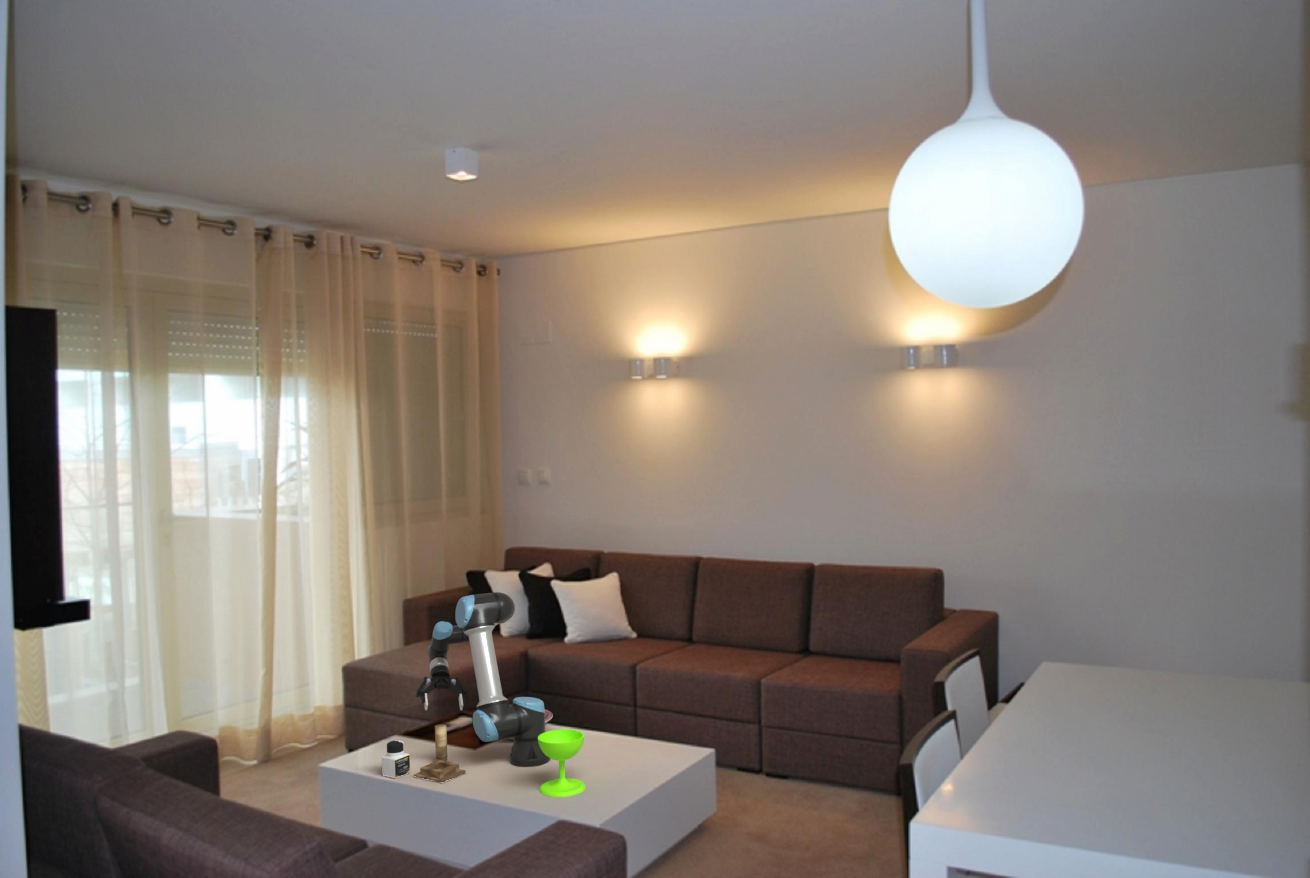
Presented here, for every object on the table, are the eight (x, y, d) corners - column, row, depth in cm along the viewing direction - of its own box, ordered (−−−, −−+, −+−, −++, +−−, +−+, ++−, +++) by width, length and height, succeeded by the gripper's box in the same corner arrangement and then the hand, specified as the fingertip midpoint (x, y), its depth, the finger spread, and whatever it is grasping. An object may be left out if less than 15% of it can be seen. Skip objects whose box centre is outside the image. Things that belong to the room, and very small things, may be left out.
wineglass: (588, 794, 325) (587, 741, 326) (541, 799, 322) (539, 745, 322) (582, 778, 341) (581, 727, 341) (537, 783, 338) (535, 731, 338)
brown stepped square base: (465, 773, 350) (465, 763, 350) (442, 783, 340) (442, 774, 340) (437, 767, 357) (437, 758, 357) (413, 777, 347) (413, 767, 347)
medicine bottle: (395, 779, 346) (394, 746, 346) (381, 776, 349) (380, 743, 349) (410, 773, 352) (409, 740, 352) (396, 770, 356) (395, 737, 356)
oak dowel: (449, 762, 363) (448, 725, 363) (441, 765, 359) (440, 728, 359) (441, 760, 365) (440, 723, 365) (433, 764, 361) (432, 726, 361)
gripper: (468, 679, 398) (474, 715, 380) (407, 678, 389) (410, 715, 371) (471, 664, 395) (477, 700, 377) (409, 663, 386) (413, 700, 368)
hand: (444, 707), depth 374 cm, fingers open, 13 cm apart
